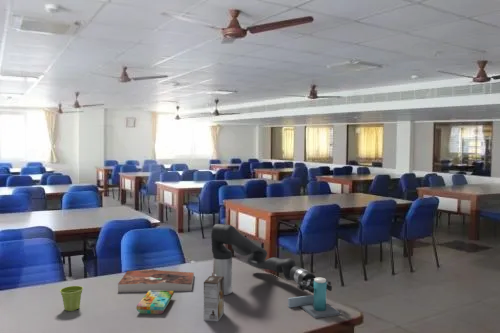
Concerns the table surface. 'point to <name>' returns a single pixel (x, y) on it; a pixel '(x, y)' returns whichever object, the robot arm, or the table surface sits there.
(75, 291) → the plant pot
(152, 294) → the puzzle game
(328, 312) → the mat
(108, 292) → the table surface
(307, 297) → the wall
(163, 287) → the board game box
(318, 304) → the jar
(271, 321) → the table surface
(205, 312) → the coffee box
